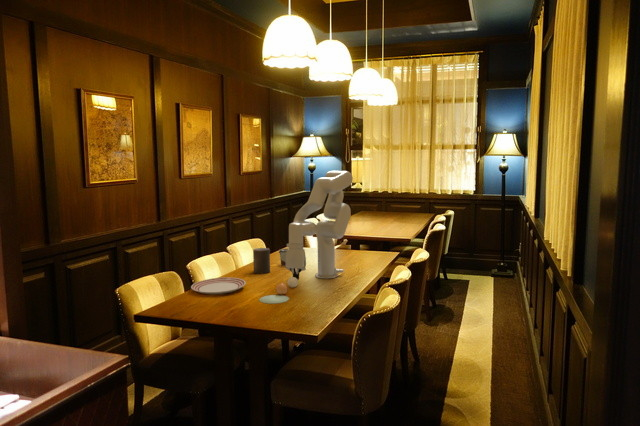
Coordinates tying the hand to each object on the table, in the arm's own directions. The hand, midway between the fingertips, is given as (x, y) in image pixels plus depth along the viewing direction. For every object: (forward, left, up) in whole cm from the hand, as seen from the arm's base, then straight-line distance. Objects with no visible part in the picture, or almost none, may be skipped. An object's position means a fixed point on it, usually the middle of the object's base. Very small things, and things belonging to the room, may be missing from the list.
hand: (295, 280), depth 265 cm
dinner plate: (+40, -1, -3) cm, 40 cm away
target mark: (+15, +24, -2) cm, 28 cm away
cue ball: (+3, +5, +1) cm, 5 cm away
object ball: (+10, +17, +1) cm, 19 cm away
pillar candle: (+14, -35, -2) cm, 38 cm away
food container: (-5, -49, -2) cm, 49 cm away
